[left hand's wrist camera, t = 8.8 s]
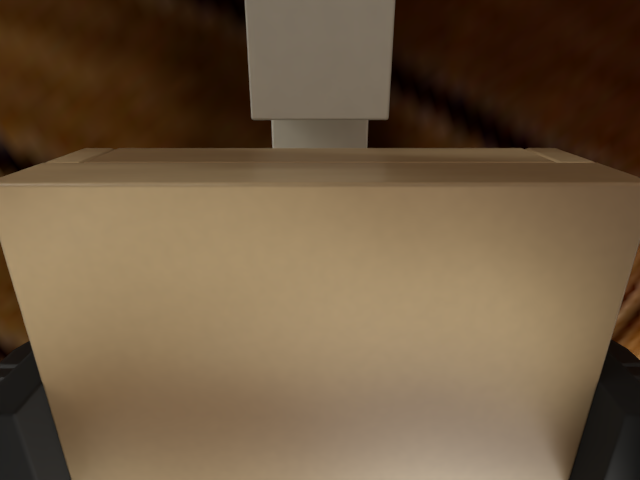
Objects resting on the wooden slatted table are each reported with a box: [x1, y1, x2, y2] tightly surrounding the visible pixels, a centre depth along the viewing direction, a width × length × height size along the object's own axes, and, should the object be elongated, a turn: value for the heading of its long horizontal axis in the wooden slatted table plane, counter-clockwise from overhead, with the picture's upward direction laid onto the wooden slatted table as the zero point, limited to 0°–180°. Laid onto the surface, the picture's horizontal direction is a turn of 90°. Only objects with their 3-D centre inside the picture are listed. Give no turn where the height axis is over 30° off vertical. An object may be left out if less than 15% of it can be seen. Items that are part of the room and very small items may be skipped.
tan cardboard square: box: [0, 148, 640, 480], centre depth 10 cm, size 10×10×3 cm
